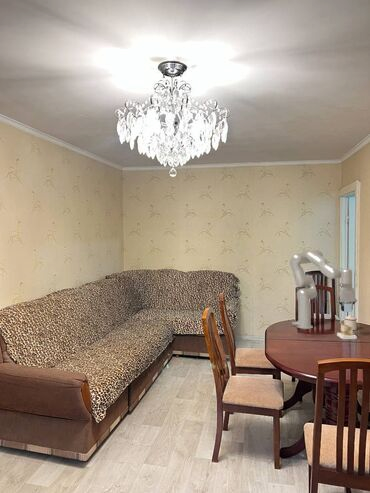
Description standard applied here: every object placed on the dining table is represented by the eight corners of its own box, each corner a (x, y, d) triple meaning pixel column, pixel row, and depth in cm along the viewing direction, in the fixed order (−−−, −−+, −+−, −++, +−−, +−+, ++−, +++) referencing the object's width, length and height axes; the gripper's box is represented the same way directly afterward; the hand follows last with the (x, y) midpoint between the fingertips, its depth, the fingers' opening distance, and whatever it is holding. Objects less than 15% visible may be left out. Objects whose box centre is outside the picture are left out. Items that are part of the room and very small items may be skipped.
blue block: (344, 312, 262) (344, 303, 262) (341, 310, 267) (341, 302, 267) (351, 311, 262) (351, 303, 262) (348, 310, 267) (348, 302, 267)
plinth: (342, 339, 260) (342, 336, 260) (337, 335, 270) (337, 332, 270) (356, 338, 260) (356, 336, 260) (350, 335, 270) (350, 332, 270)
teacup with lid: (357, 329, 288) (357, 314, 288) (355, 331, 281) (355, 316, 280) (341, 327, 295) (341, 312, 295) (338, 329, 288) (338, 314, 287)
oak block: (344, 335, 262) (344, 327, 262) (340, 333, 268) (340, 325, 268) (352, 335, 262) (352, 327, 262) (349, 333, 268) (349, 325, 268)
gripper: (336, 286, 261) (337, 312, 261) (360, 286, 260) (361, 311, 261) (332, 285, 268) (332, 310, 268) (356, 285, 268) (356, 309, 268)
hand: (346, 310), depth 264 cm, fingers closed on blue block, 5 cm apart
